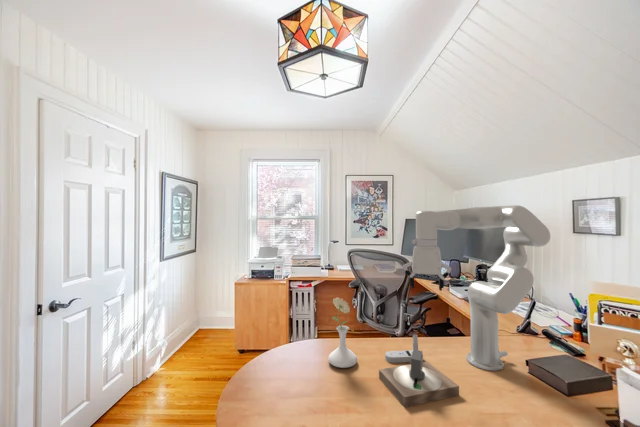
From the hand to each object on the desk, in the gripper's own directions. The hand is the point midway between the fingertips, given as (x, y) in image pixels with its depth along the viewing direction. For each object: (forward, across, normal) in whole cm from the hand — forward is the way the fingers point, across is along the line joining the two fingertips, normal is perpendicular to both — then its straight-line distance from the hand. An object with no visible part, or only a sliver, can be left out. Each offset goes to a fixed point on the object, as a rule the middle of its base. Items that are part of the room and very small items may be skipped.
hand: (426, 288), depth 106 cm
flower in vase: (+31, -32, -5) cm, 44 cm away
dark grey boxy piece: (+27, -4, -14) cm, 31 cm away
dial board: (+30, -4, -12) cm, 33 cm away
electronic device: (+31, -8, +5) cm, 32 cm away
